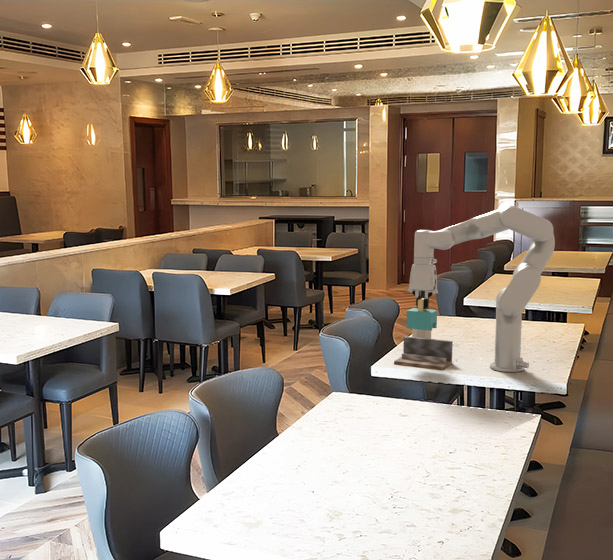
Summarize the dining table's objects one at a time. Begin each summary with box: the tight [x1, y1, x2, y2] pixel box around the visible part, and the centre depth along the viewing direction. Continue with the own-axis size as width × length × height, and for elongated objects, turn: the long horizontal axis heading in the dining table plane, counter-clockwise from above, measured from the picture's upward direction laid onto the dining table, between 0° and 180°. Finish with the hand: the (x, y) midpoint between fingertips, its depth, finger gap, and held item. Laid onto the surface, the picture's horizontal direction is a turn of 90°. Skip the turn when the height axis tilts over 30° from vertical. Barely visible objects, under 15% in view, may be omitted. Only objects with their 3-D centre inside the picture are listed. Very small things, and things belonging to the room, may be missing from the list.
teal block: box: [406, 298, 438, 332], centre depth 277 cm, size 10×7×12 cm
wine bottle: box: [411, 291, 432, 339], centre depth 299 cm, size 8×8×30 cm
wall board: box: [393, 336, 454, 371], centre depth 281 cm, size 20×12×9 cm, turn 62°
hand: (422, 307), depth 277 cm, fingers closed on teal block
